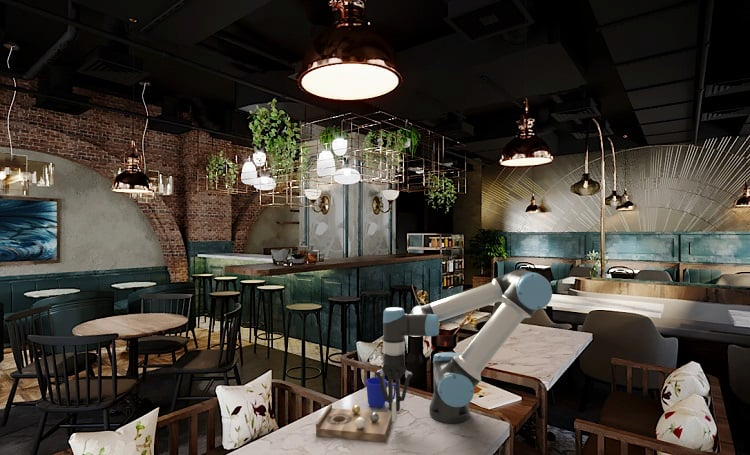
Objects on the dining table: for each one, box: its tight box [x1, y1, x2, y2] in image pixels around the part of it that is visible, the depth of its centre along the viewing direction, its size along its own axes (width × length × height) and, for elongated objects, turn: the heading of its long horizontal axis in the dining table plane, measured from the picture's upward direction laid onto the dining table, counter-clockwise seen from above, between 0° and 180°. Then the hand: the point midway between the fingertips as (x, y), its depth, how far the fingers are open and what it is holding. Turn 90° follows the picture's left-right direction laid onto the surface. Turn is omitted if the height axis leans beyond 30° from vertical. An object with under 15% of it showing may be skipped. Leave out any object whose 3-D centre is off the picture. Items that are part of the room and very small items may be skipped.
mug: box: [365, 376, 396, 409], centre depth 161 cm, size 8×12×10 cm
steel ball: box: [370, 411, 379, 422], centre depth 142 cm, size 3×3×3 cm
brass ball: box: [351, 404, 361, 414], centre depth 149 cm, size 3×3×3 cm
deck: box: [315, 403, 393, 443], centre depth 144 cm, size 24×16×4 cm, turn 79°
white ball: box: [355, 417, 365, 429], centre depth 138 cm, size 4×4×4 cm
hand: (394, 419), depth 141 cm, fingers closed
